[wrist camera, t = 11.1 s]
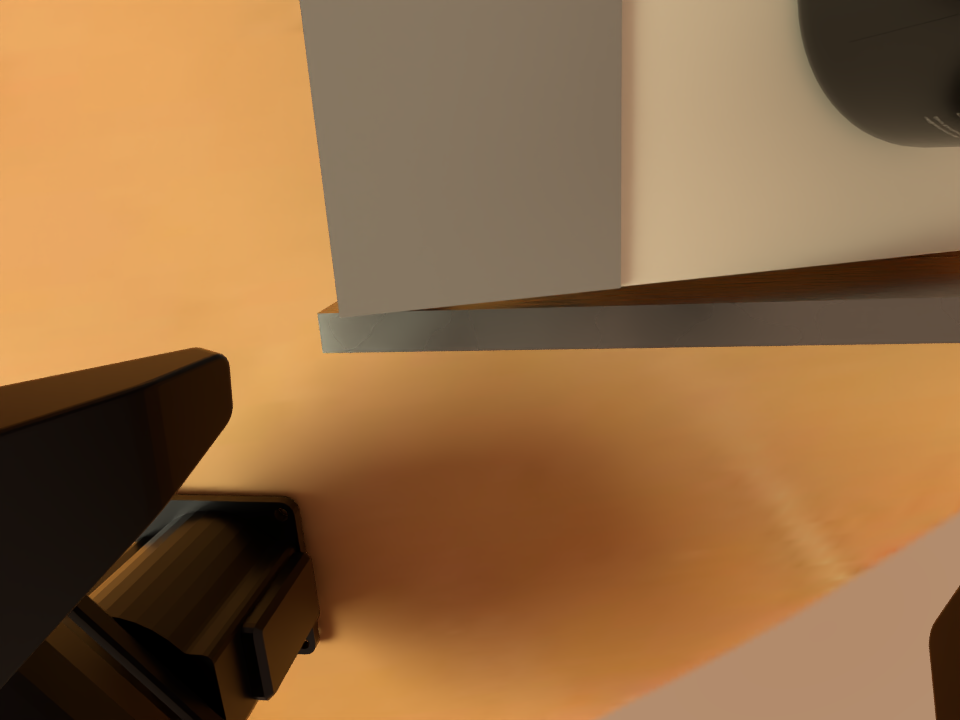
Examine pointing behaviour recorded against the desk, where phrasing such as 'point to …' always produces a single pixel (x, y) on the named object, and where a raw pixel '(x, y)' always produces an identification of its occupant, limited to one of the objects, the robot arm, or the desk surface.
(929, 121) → the supplement bottle
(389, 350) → the flap frame
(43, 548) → the robot arm
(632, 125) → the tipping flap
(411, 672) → the desk surface
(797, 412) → the desk surface
